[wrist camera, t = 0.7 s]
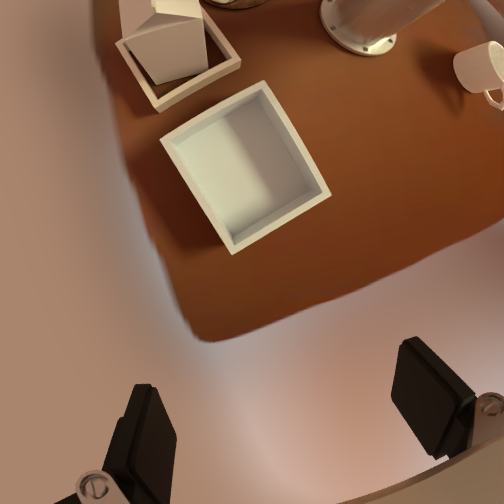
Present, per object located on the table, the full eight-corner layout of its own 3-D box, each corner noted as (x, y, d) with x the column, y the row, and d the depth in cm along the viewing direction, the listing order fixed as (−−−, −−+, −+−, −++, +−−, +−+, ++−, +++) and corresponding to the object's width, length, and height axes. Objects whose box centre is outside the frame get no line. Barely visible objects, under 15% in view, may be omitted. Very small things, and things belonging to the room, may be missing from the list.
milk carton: (156, 86, 33) (108, 22, 15) (148, 43, 32) (105, -33, 13) (209, 72, 34) (200, -5, 15) (199, 30, 32) (187, -57, 13)
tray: (196, 9, 31) (195, -2, 28) (239, 68, 34) (241, 60, 31) (121, 51, 31) (114, 43, 28) (159, 113, 34) (154, 108, 31)
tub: (257, 93, 35) (264, 79, 29) (316, 192, 39) (331, 195, 33) (168, 144, 36) (159, 139, 30) (230, 243, 40) (231, 255, 34)
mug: (462, 111, 38) (502, 105, 28) (448, 49, 35) (483, 35, 25) (488, 115, 38) (525, 112, 29) (474, 57, 35) (508, 47, 25)
